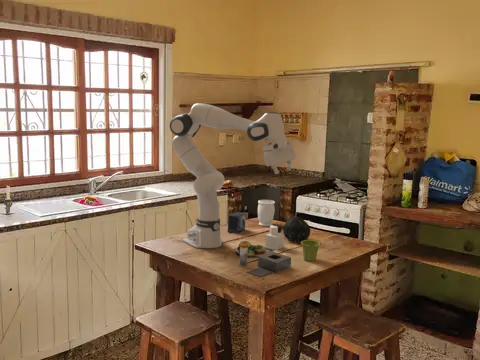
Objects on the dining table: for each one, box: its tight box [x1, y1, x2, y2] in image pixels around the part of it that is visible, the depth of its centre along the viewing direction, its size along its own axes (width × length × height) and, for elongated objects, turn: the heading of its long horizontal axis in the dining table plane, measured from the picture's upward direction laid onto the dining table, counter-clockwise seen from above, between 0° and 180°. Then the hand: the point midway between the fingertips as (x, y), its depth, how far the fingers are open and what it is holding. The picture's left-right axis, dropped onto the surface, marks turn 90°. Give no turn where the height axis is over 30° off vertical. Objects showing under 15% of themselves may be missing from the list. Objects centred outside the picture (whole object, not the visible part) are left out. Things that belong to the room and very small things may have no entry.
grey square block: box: [257, 251, 292, 274], centre depth 225 cm, size 11×11×5 cm
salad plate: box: [235, 240, 275, 258], centre depth 246 cm, size 19×18×5 cm
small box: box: [227, 211, 247, 234], centre depth 283 cm, size 11×6×10 cm, turn 150°
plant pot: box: [300, 239, 321, 262], centre depth 237 cm, size 9×9×9 cm
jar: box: [257, 199, 276, 227], centre depth 299 cm, size 11×10×15 cm
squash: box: [282, 216, 311, 243], centre depth 268 cm, size 14×15×15 cm
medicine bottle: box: [265, 224, 285, 251], centre depth 254 cm, size 7×7×12 cm
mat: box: [246, 267, 273, 278], centre depth 218 cm, size 8×8×1 cm
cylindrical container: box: [239, 240, 249, 267], centre depth 227 cm, size 4×4×11 cm
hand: (283, 171), depth 237 cm, fingers open, 8 cm apart
